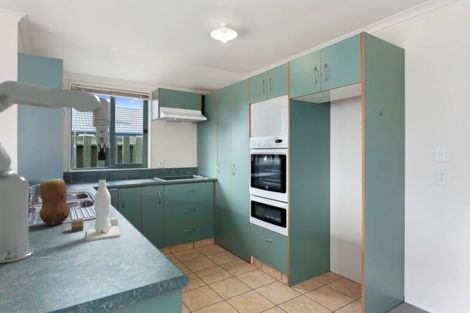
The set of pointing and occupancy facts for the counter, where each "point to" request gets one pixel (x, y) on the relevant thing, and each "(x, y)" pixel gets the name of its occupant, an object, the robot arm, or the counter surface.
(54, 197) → the butternut squash
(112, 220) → the pale grey block
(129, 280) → the counter surface
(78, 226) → the walnut block
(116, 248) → the counter surface
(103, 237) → the placemat
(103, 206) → the water bottle
